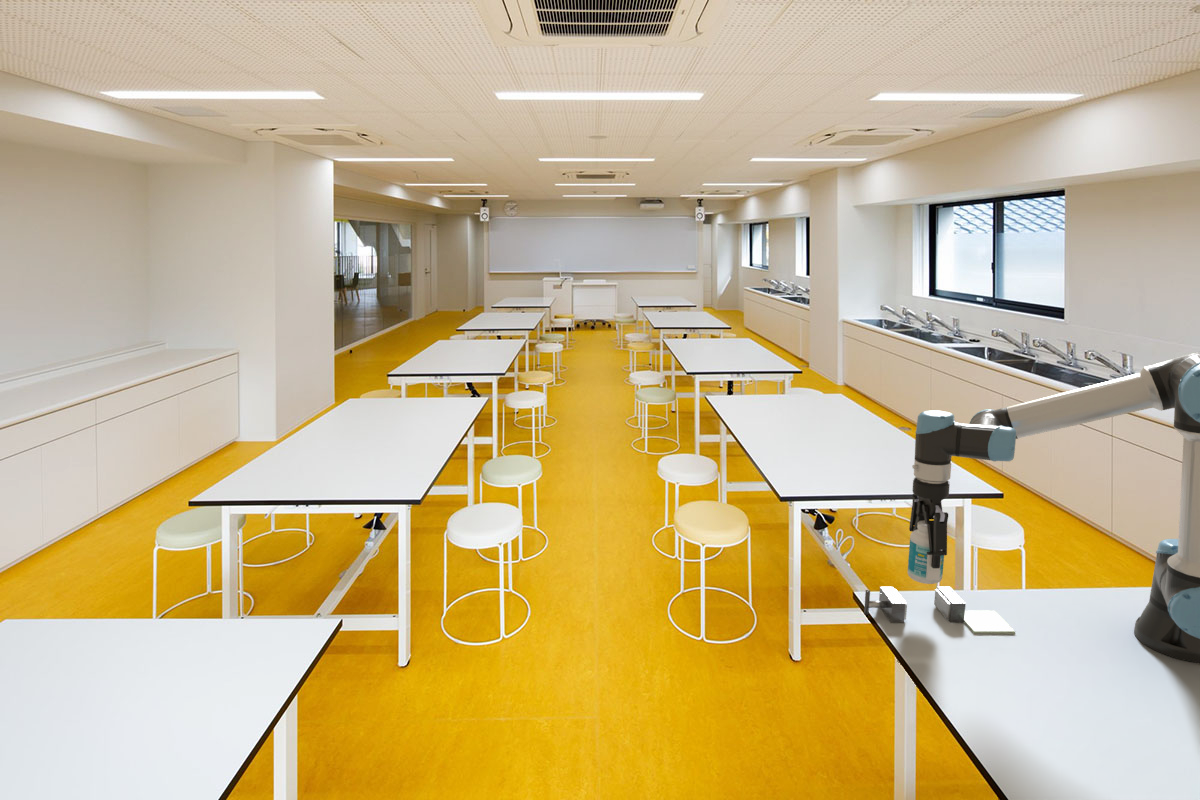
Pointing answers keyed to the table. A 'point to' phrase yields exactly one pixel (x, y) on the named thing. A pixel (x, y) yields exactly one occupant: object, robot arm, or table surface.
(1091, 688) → the table surface
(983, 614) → the pad
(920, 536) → the pill bottle
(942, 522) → the robot arm
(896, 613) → the vise
